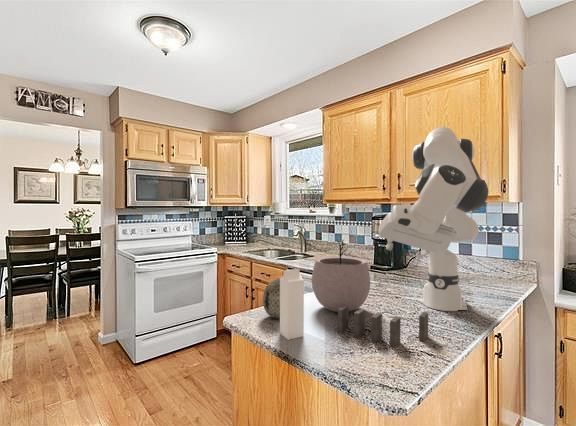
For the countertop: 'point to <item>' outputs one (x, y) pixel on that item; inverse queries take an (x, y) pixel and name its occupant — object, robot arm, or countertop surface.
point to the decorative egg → (272, 298)
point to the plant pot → (341, 281)
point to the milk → (292, 304)
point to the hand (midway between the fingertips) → (403, 253)
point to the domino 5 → (423, 326)
